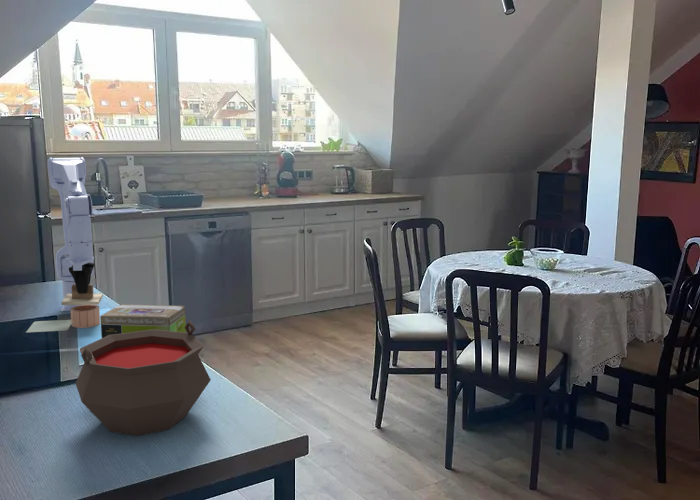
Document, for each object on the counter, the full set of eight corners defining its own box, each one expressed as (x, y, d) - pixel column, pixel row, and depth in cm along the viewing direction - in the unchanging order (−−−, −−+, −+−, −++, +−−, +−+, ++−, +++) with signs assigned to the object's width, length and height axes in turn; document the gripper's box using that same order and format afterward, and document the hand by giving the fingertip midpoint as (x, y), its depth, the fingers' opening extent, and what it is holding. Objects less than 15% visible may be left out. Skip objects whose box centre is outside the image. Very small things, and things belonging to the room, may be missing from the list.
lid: (67, 296, 179) (67, 281, 179) (102, 296, 181) (102, 280, 181) (61, 305, 171) (61, 288, 170) (98, 304, 173) (98, 288, 172)
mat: (34, 323, 179) (34, 321, 179) (74, 321, 181) (73, 319, 181) (25, 334, 170) (25, 332, 169) (67, 332, 172) (67, 330, 172)
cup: (74, 323, 180) (73, 305, 179) (101, 321, 182) (100, 303, 181) (69, 330, 173) (68, 312, 172) (98, 328, 175) (97, 310, 174)
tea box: (188, 369, 147) (186, 304, 144) (172, 386, 137) (169, 317, 134) (123, 366, 148) (120, 302, 145) (102, 383, 138) (98, 314, 136)
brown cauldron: (162, 383, 138) (158, 307, 135) (238, 415, 123) (237, 331, 120) (49, 421, 120) (43, 334, 117) (123, 464, 105) (118, 366, 102)
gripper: (68, 237, 179) (72, 286, 182) (58, 246, 165) (62, 299, 168) (96, 236, 181) (99, 285, 183) (88, 245, 167) (91, 298, 170)
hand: (83, 291), depth 176 cm, fingers closed on lid, 2 cm apart
